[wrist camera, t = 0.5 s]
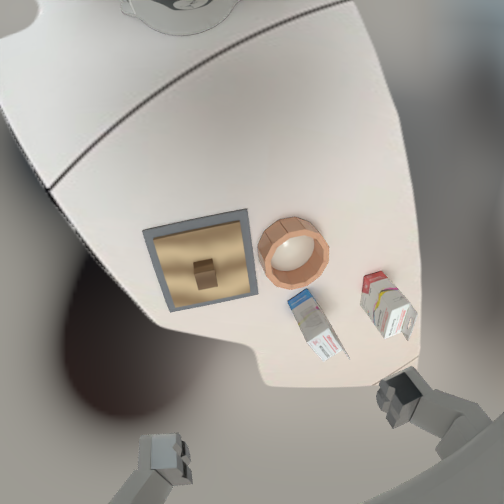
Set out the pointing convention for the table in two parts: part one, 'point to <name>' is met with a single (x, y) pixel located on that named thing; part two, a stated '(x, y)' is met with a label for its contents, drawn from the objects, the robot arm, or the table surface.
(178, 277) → the oak cover
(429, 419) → the robot arm
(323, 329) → the ink box
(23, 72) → the table surface
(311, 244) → the terracotta bowl
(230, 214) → the rubber mat
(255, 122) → the table surface
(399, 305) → the ink cartridge box
